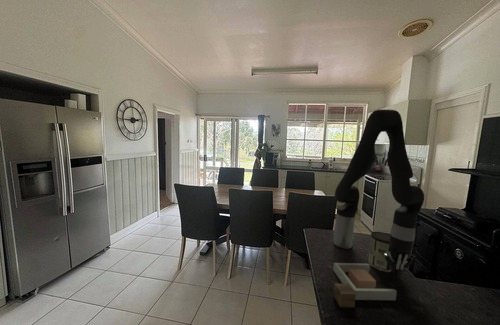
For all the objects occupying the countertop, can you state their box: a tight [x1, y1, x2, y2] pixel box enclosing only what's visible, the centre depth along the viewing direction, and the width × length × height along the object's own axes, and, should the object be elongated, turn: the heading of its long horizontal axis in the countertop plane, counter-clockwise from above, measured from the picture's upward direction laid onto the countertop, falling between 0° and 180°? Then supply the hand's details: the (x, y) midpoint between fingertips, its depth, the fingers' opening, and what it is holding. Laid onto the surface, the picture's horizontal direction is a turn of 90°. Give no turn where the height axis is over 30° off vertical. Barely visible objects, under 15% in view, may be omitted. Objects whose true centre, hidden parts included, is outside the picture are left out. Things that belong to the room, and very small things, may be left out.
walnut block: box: [332, 282, 356, 308], centre depth 71 cm, size 5×5×5 cm
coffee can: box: [367, 231, 392, 273], centre depth 94 cm, size 10×10×14 cm
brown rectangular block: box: [347, 269, 377, 289], centre depth 81 cm, size 7×7×4 cm
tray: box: [332, 262, 398, 301], centre depth 80 cm, size 16×15×4 cm
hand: (395, 276), depth 81 cm, fingers closed
